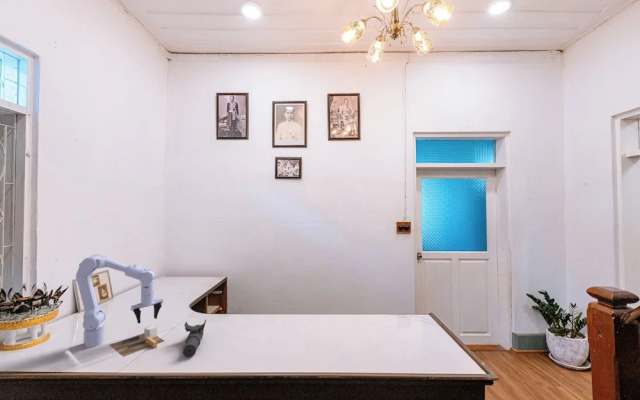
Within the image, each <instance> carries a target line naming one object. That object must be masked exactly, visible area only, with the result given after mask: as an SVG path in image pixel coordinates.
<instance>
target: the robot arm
mask: <svg viewBox="0 0 640 400" xmlns="http://www.w3.org/2000/svg"><path fill="white" fill-rule="evenodd" d="M103 268H109V269H112V270H116V271H119V272H123V273H124V275H125V276H126V277H128V278H132V279H135V280H138V281H140V284H141V285H140V302H139V303H136V304H133V305H130V310H131V312H133V314H134V315H135V318H136V320H137V321H136V322H137V324H141V315H142V314H141V313H142V310H141V309H143V308H147V307H151V306H153V318H154V320H155V319H157V318H158V315H159V312H160V311H161V308H162V304H163V303H164V299H163V298H159V299H155V284H154V279H155V277H156V273H155V271H154V270H152V269H147V268H143V267H139V266H138V265H137V264H129V265H127V264H124V263H122V262H119V261H117V260H114V259H111V258H109V257H107V256H104V255H101V254H94V255H91V256H89V257H86V258H84V259H83V260H82V261H81V262H80V263H79V264H78V269H77V271H76V274H75V279H76V282H77V285H78V290H79V294H80V298H81V301H82V305H83V309H84V314H83V316H82V317H83V322H82V328H83V329H84V331H83V344H84V347H85V348H88V349H89V348H96V347H98V346H101V345H102V344H104V341H105V339H104V338H105V334H104V333H105V331H104V330H105V328H104V326H105V325H104V321H105V319H106V313H105V312H104V311H103V309H102V307H101V306H99V304H98V299H97V296H96V295H97V294H96V292H95V288H94V285H93V284H94V283H93V280H92V276H91V275H93V273H94V272H95V271H96V270H98V269H103Z"/></svg>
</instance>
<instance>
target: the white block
mask: <svg viewBox="0 0 640 400" xmlns="http://www.w3.org/2000/svg"><path fill="white" fill-rule="evenodd" d="M143 331H144V332H143V333H144V338H145V339H146V337H150V338H154V337H156V336H158V326H156V325H149V326H146V327H145V328H144V329H143Z"/></svg>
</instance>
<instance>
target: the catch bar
mask: <svg viewBox="0 0 640 400" xmlns="http://www.w3.org/2000/svg"><path fill="white" fill-rule="evenodd" d="M146 343H148V344H149V345H151V347H152V348H154V349H155V348H158V344H157V341H155V340H153V339H152V338H150V337H146Z"/></svg>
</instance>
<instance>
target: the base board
mask: <svg viewBox="0 0 640 400" xmlns="http://www.w3.org/2000/svg"><path fill="white" fill-rule="evenodd" d="M152 339H153V340H155V341H157V345H158V344H161V343H163V342H165V340H164V339H162V338H161V337H159V336H158V335H157V336H156V337H154V338H152ZM109 347H111V348H112V349H114V350H115V351H116V352H117V353H118V354H119V355H121V356H122V357H123V358H125V357H127V356H130V355H132V354H134V353H137V352H139V351H142V350H146V349H148V348H150V347H152V346H151V345H149V344H148V343H146V339H145V338H144V332H143V333H140V334H137V335H134V336H131V337H128V338H125V339H122V340H119V341H116V342H113V343H111V344H109Z"/></svg>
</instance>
